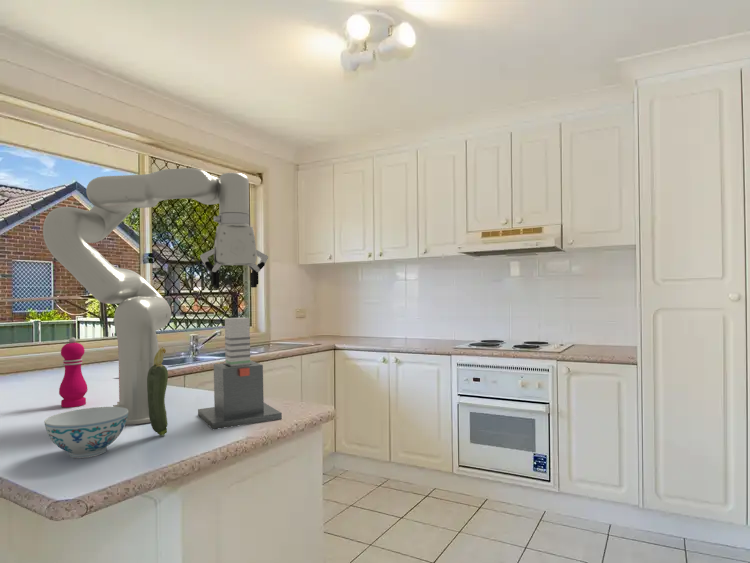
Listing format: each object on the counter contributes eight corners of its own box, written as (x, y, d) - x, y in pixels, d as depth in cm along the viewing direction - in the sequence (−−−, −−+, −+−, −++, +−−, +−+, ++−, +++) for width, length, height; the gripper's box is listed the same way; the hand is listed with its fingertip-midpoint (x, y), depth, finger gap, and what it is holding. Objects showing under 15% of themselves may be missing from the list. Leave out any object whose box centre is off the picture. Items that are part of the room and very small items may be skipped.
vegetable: (148, 439, 112) (147, 349, 113) (147, 434, 116) (145, 347, 117) (170, 436, 114) (168, 347, 115) (168, 431, 118) (166, 346, 119)
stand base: (212, 429, 119) (211, 372, 119) (198, 414, 134) (197, 363, 134) (281, 418, 128) (280, 365, 128) (260, 406, 142) (259, 358, 142)
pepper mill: (74, 408, 145) (73, 338, 145) (53, 407, 146) (52, 338, 146) (93, 402, 152) (92, 336, 152) (72, 402, 153) (71, 336, 154)
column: (231, 391, 127) (229, 319, 127) (225, 388, 132) (224, 318, 132) (251, 389, 130) (249, 318, 130) (245, 386, 134) (243, 317, 134)
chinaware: (133, 455, 102) (133, 416, 102) (44, 471, 94) (44, 429, 94) (124, 437, 114) (123, 403, 114) (45, 450, 106) (44, 413, 106)
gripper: (203, 218, 124) (204, 288, 123) (271, 221, 132) (272, 287, 132) (196, 221, 130) (197, 288, 130) (262, 225, 139) (263, 287, 139)
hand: (235, 287), depth 131 cm, fingers open, 9 cm apart
